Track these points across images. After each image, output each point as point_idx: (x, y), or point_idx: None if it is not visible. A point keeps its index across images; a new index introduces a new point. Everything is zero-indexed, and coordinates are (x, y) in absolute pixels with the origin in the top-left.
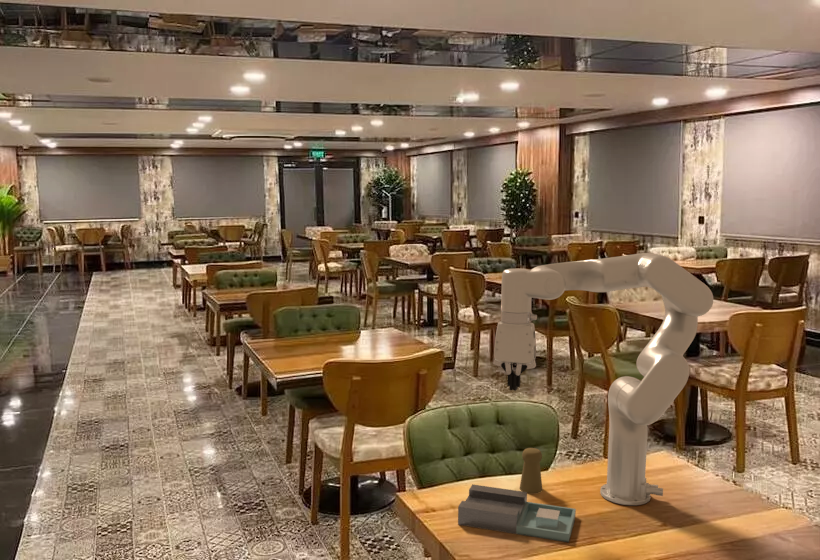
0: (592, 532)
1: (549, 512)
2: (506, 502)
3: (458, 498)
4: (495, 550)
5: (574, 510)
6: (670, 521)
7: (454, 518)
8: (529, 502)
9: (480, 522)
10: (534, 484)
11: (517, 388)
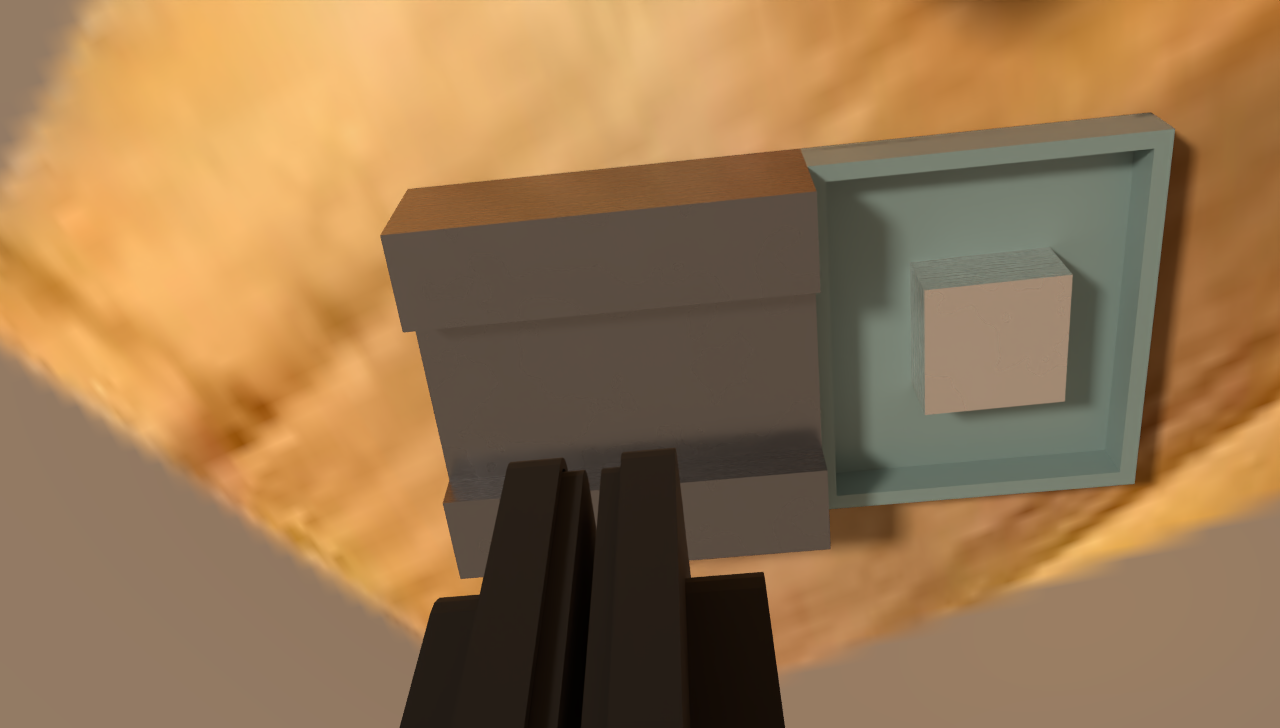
0: (1259, 286)
1: (1003, 327)
2: (692, 311)
3: (303, 185)
4: None
5: (1166, 160)
6: None
7: (424, 452)
8: (829, 170)
9: None
10: None
11: (678, 478)
